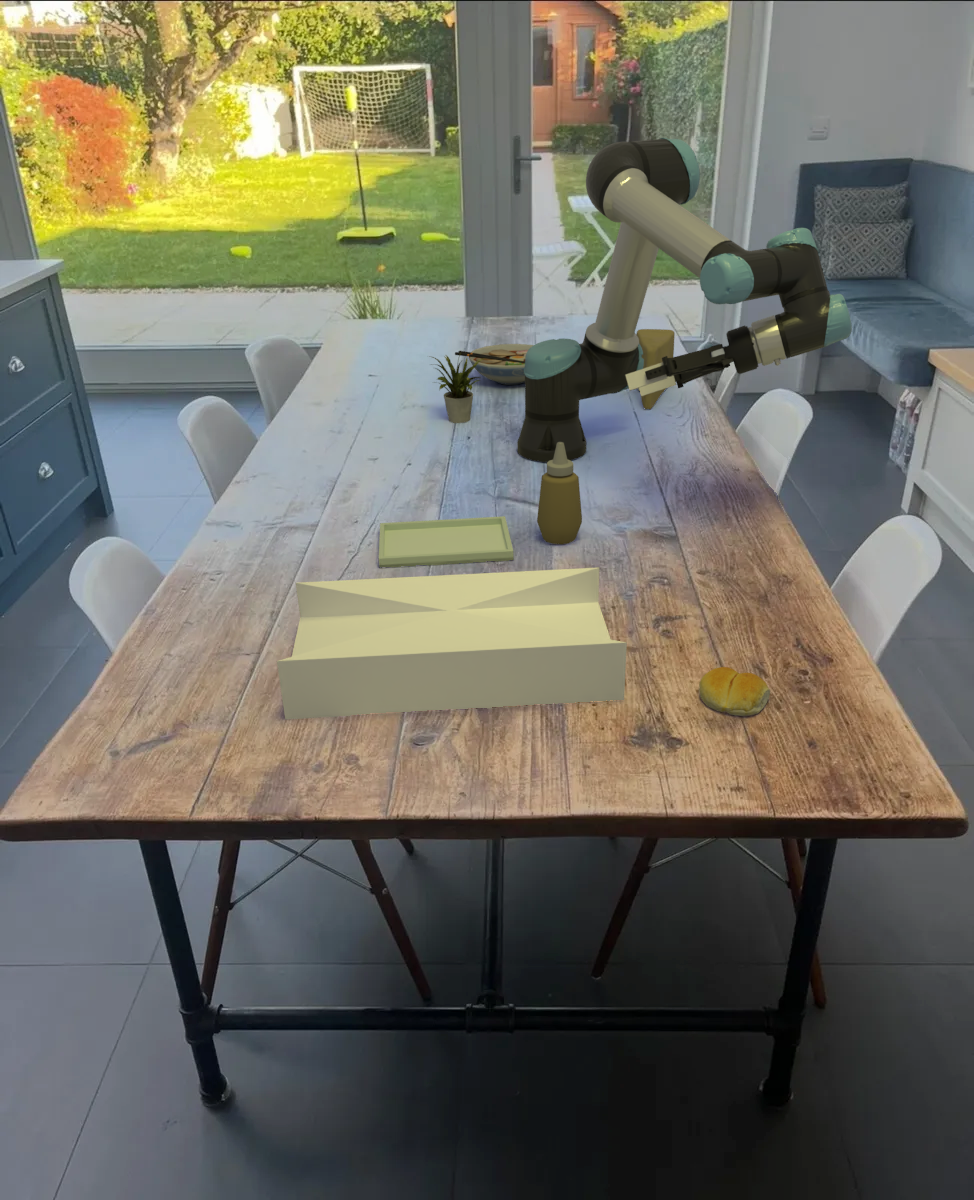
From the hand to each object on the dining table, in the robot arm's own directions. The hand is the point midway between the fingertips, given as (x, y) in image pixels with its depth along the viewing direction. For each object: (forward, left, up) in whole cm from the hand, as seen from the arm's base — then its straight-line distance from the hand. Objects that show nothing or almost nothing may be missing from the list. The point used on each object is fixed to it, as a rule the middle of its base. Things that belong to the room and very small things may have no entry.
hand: (633, 386), depth 175 cm
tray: (-10, -34, -25) cm, 43 cm away
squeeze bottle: (0, -16, -25) cm, 30 cm away
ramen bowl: (-87, +36, -25) cm, 97 cm away
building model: (+25, -55, -26) cm, 65 cm away
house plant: (-69, +6, -25) cm, 74 cm away
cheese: (-53, +55, -25) cm, 80 cm away
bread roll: (+54, -29, -25) cm, 67 cm away
